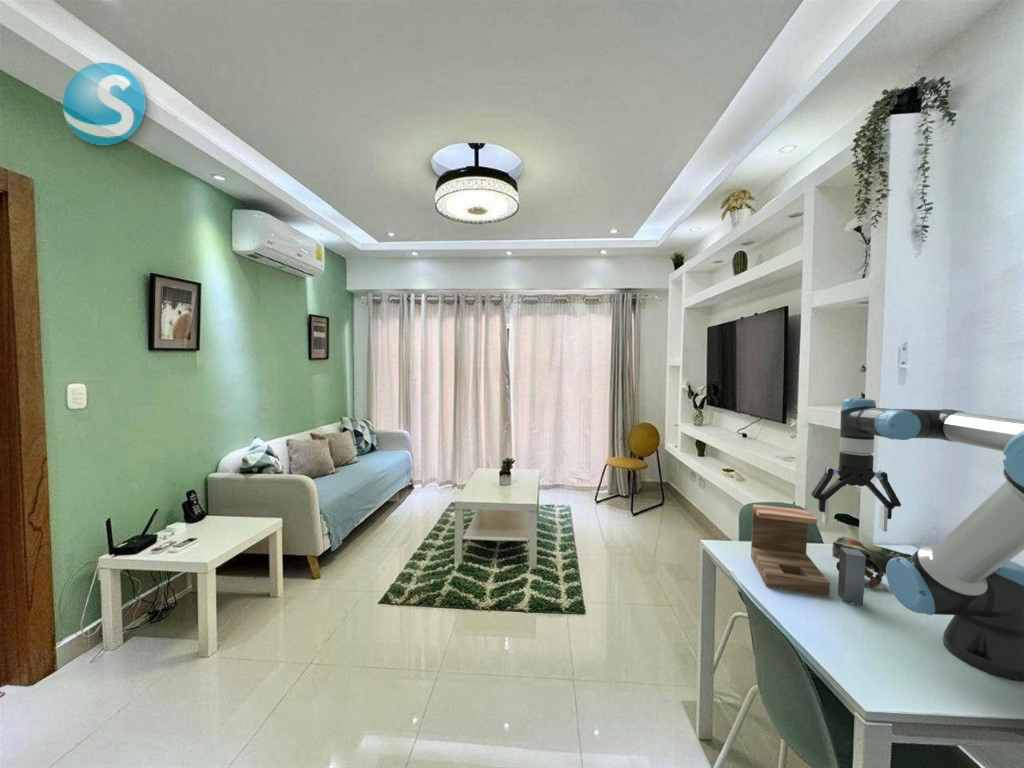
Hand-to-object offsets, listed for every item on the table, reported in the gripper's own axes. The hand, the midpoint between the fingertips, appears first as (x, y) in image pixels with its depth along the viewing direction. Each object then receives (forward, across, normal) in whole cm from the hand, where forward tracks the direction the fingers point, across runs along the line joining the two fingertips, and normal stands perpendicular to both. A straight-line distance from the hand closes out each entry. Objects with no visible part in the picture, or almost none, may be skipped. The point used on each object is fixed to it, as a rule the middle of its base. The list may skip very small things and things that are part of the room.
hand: (853, 526), depth 120 cm
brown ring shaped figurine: (+21, -6, -13) cm, 26 cm away
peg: (+21, +1, +1) cm, 21 cm away
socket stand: (+20, +14, -8) cm, 26 cm away
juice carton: (+21, -15, -29) cm, 39 cm away
